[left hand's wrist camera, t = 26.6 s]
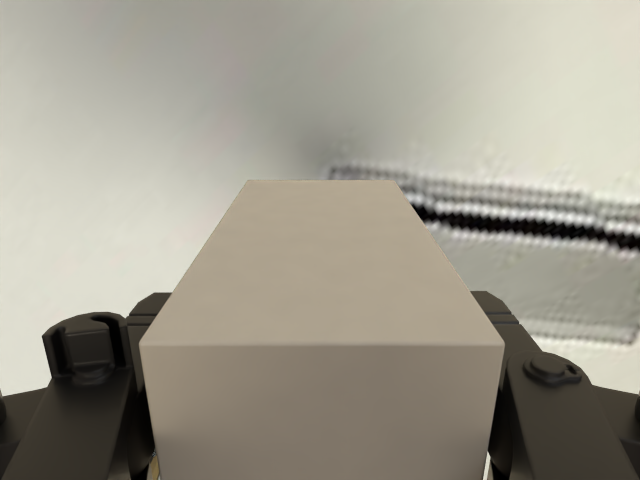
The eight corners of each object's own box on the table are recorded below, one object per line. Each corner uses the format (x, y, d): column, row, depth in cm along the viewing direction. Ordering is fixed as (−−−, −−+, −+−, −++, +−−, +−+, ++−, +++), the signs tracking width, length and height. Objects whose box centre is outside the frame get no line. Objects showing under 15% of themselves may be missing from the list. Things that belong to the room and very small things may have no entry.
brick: (247, 179, 14) (136, 342, 6) (394, 179, 14) (507, 342, 6) (255, 324, 16) (180, 614, 7) (386, 324, 16) (461, 615, 7)
